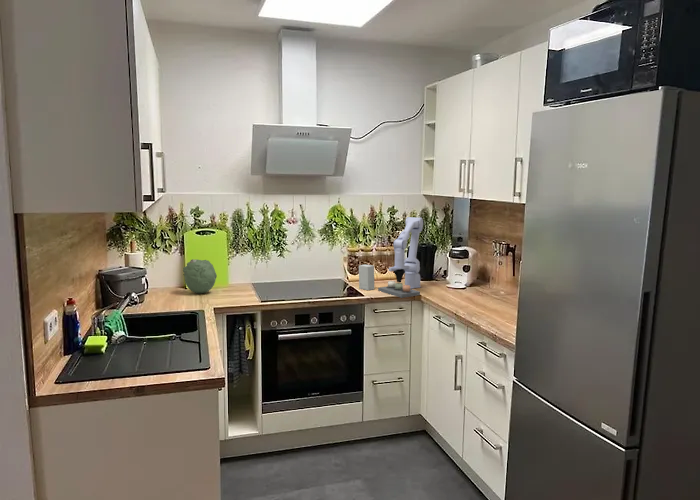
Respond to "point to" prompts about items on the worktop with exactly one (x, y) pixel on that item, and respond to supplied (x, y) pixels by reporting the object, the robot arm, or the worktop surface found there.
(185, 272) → the cabbage
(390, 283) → the button cream
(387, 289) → the panel
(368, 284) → the skincare box
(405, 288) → the button terracotta
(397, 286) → the button sage
